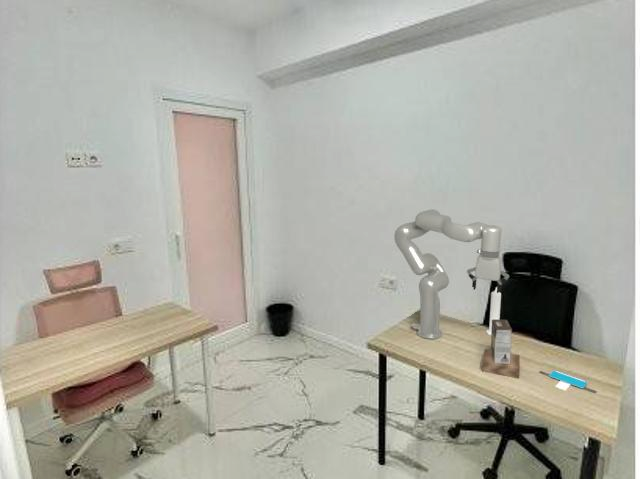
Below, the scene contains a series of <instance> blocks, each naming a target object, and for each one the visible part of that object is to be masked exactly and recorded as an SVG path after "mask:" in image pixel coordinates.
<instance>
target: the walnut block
mask: <svg viewBox="0 0 640 479" xmlns="http://www.w3.org/2000/svg"><path fill="white" fill-rule="evenodd" d="M520 358H521V357H520V354H515V353H511V352H510V364H503V363H494V360H493V357H492V354H491V349H486V348H485V349H484V352H483V358H482V362H481V363H482V364H481V365H482V366H481V372H482V373H489V374H494V375H498V376H503V377H508V378H514V379H518V380H519V379H520V368H521V364H520V363H521V362H520Z"/></svg>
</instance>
